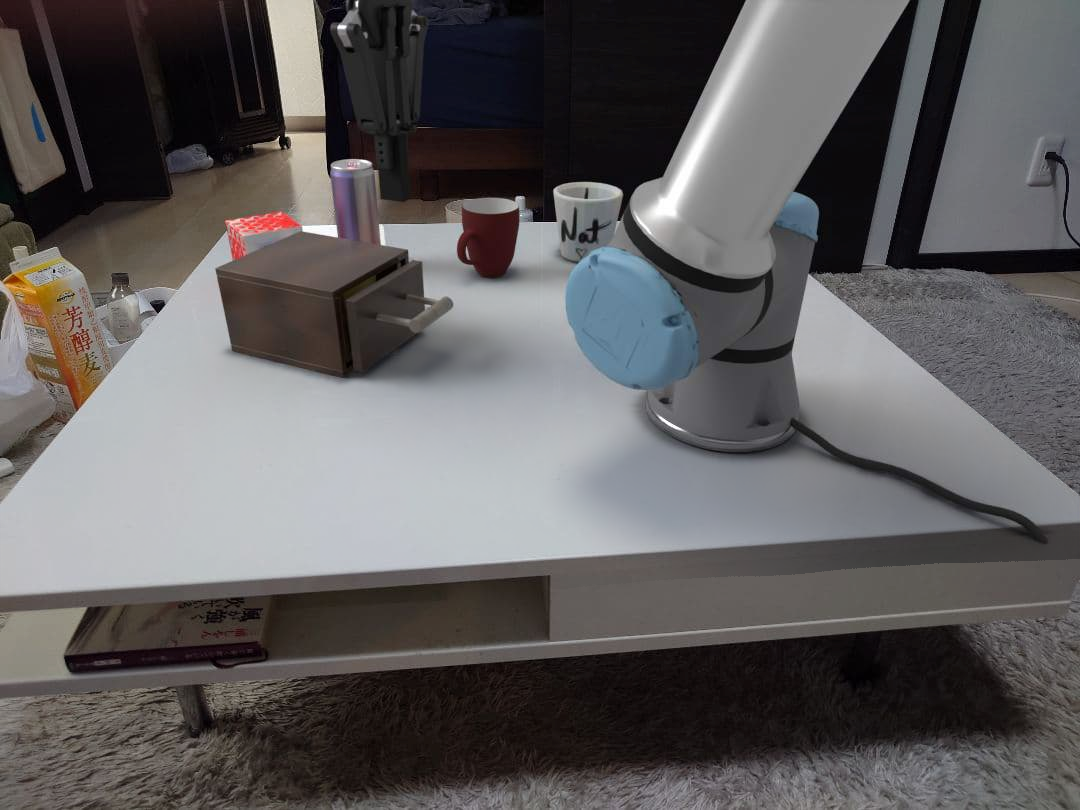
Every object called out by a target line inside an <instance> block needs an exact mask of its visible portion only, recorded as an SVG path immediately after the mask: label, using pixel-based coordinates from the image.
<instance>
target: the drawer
mask: <svg viewBox="0 0 1080 810" xmlns="http://www.w3.org/2000/svg"><path fill="white" fill-rule="evenodd" d="M424 285H425V284H424V271H423V261H421V260H418V259H417V260H416V259H413V260H411V261H409V263H407V264H406V265H404V266H402V267H401V262H400V261H399V262H397V263H395V264H393V265H392V266H390V267H388V268H387V269H385V270H383V271H381V272H380V273H378V274H376V282H375V283H373V284H372V285H370V286H368V287H366V288H365V289H363V290H361V291H360V292H358V293H356V294H355V295H353V296H351V297H349V298H348V299H346V309H347V317H348V326H349V333H348V330H347V321H346V313H345V305H344V296H343V295H342V294H341V295H340V296H338V302H339V310H340V318H341V326H342V334H343V342H344V350H345V358H346V363H347V362H349V361H350V360H352V359H353V368H354V371H355V372H358V373H364V372H365V371H367V370H368V369H369V368H371V367H372V366H374V365H375V364H376V363H378V362H379V361H380V360H382V359H383V358H385V357H386V356H387V355H389V354H390V353H392V352H393V351H394V350H396V349H397V348H398V347H399V346H401V345H402V344H403V343H405V342H406V341H408V340H409V339H410V338H412V337H413V336H415V335H416V334H420V333H421V332H423V331H424V330H425V329H426V328H428V327H429V326H430V325H432V324H433V323H435V322H437V320H439V319H440V318H442V317H443V316H444V315H446V314H447V313H448V312H450V311H451V310H452V309H453V308H454V302H453V300H452V298H450V297H449V296H443V297H442V298H440V299H434V298H430V297H425V289H424ZM426 305H427V306H429V307H427V308H426Z"/></svg>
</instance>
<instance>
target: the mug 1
mask: <svg viewBox="0 0 1080 810" xmlns="http://www.w3.org/2000/svg"><path fill="white" fill-rule="evenodd" d="M461 225H462V231H463V232H462V233H460V235H459V237H458V240H457V244H456V255H457V259H458V260H459V261H460V263H462V264H464V265H467V266H472V267H473V269H474V270H475V271H476V273H477V274H478V276H480V277H482V278H485V279H497V278H501V277H504V275H505V274H506V273H507V271H508V269H509V268H510V266H511V264H512V262H513V260H514V257H515V253H516V246H517V241H518V234H519V231H520V229H519V228H520V204H519V203H518V202H516V201H514V200H512V199H508V198H501V197H478V198H473V199H470V200H466V201H464V202H463V203H462V204H461ZM467 254H468V255H467ZM468 258H469V259H468Z"/></svg>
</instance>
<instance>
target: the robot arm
mask: <svg viewBox="0 0 1080 810" xmlns="http://www.w3.org/2000/svg"><path fill="white" fill-rule="evenodd" d="M910 1H911V0H745V1H744V4H743V5H742V7H741V10H740V12H739V14H738V16H737V19H736V21H735V23H734V25H733V26H732V29H731V31H730V34H729V35H728V38H727V40H726V42H725V44H724V46H723V49H722V50H721V52H720V55H719V57H718V59H717V61H716V62H715V65H714V67H713V70H712V72H711V74H710V76H709V78H708V80H707V83H706V85H705V86H704V89H703V91H702V93H701V95H700V97H699V99H698V101H697V104H696V105H695V108H694V110H693V112H692V115H691V116H690V118H689V121H688V123H687V125H686V127H685V129H684V131H683V133H682V135H681V138H680V139H679V141H678V144H677V146H676V148H675V150H674V152H673V155H672V157H671V159H670V161H669V163H668V165H667V166H666V169H665V172H664V174H663V176H662V177H659V178H656V179H652V180H650V181H646V182H643V183H642V184H640V185H639V186H637V187H636V188H635V190H634V192H633V193H632V195H631V197H630V199H629V201H628V202H627V204H626V207H625V208H624V209H625V210H624V212H623V214H622V216H621V218H620V221H619V223H618V225H617V226H616V228H615V233H614V236H613V238H612V240H611V242H610V243H609V244H608V245H607V247H602V248H599V249H596V250H593V251H591V252H590V253H589V255H588V256H587V257H585V258H584V259H582V260H581V261H580V262H577V264H576V265H575V266H574V268H573V269H572V271H571V273H570V275H569V277H568V280H567V283H566V289H565V296H564V299H565V300H564V301H565V302H564V304H565V312H566V317H567V321H568V325H569V326H570V327H571V329H572V331H573V333H574V340H575V342H576V344H577V346H578V347H579V349H580V350H581V352H582V353H583V355H584V356H585V358H586V359H587V360H588V362H590V364H591V365H592V366H594V368H595V369H596V370H597V371H598V372H600V373H601V374H602V375H603V376H605V377H606V378H607V379H609V380H610V381H612V382H614V383H616V384H618V385H620V386H622V387H625V388H627V389H631V390H636V391H640V390H641V391H646V397H645V410H646V414H647V416H648V417H649V420H651V421H652V423H653V424H654V425H655V426H656V427H657V428H658V429H660V430H661V431H662V432H664V433H665V434H667V435H669V436H670V437H672V438H674V439H676V440H679V441H680V442H683V443H685V444H689V445H691V446H695V447H698V448H702V449H707V450H712V451H717V452H726V453H746V452H747V453H749V452H758V451H763V450H767V449H771V448H774V447H777V446H778V445H780V444H783V443H784V442H786V441H787V440H789V439H790V438H791V437H792V436H793V434H794V433H795V432H796V431H797V432H799V433H800V434H802V435H804V436H805V437H806V438H808V439H809V440H811V441H812V442H814V443H815V444H817V445H818V446H819V447H820V448H821V449H823V450H824V451H825V452H827V453H829V454H830V455H832V456H833V457H835V458H837V459H839V460H841V461H843V462H846V463H849V464H852V465H855V466H858V467H862V468H866V469H871V470H875V471H879V472H884V473H887V474H890V475H894V476H897V477H900V478H902V479H905V480H907V481H909V482H912V483H914V484H916V485H918V486H920V487H921V488H924V489H926V490H928V491H929V492H931V493H933V494H935V495H937V496H939V497H942V498H943V499H945V500H947V501H949V502H951V503H953V504H955V505H958V506H960V507H962V508H965V509H967V510H971V511H973V512H978V513H982V514H986V515H991V516H996V517H1000V518H1003V519H1005V520H1006V519H1007V520H1010V521H1012V522H1014V523H1017V525H1019V526H1021V527H1022V528H1024V529H1025V530H1026V531H1028V533H1029V534H1030V535H1031V536H1032V537H1033V539H1034V540H1035V541H1036V542H1038V543H1039V544H1043V545H1048V544H1049V541H1048V539H1047V537H1046V535H1045V534H1044V533H1043V531H1042V530H1041V529H1040V527H1039V526H1038V525H1036V523H1035V522H1034V521H1033V520H1031V519H1030V518H1028V517H1027V516H1025V515H1023V514H1022V513H1019V512H1017V511H1015V510H1012V509H1008V508H1006V507H1001V506H996V505H993V504H987V503H983V502H980V501H976V500H973V499H969V498H967V497H965V496H962V495H960V494H957V493H956V492H953V491H951V490H949V489H947V488H945V487H943V486H941V485H940V484H937V483H936V482H933V481H932V480H929V479H928V478H926V477H923V476H921V475H920V474H918V473H915V472H914V471H913V472H912V471H910V470H908V469H905V468H903V467H899V466H896V465H893V464H890V463H886V462H882V461H877V460H872V459H868V458H865V457H860V456H857V455H854V454H851V453H849V452H846V451H844V450H842V449H840V448H838V447H837V446H835V445H834V444H832V443H830V442H829V441H828V440H827V439H825V438H824V437H823V436H822V435H820V434H819V433H817V432H816V431H815V430H813V429H811V428H810V427H808V426H807V425H805V424H803V423H802V422H800V421H799V417H800V399H799V393H798V385H797V378H796V371H795V367H794V366H795V365H794V360H793V349H794V345H795V344H794V343H795V340H796V339H795V338H796V334H797V330H798V326H799V321H800V315H801V311H802V306H803V301H804V296H805V292H806V287H807V283H808V278H809V273H810V269H811V263H812V259H813V254H814V251H815V250H814V249H815V245H816V243H817V242H818V239H819V236H818V235H817V233H818V232H817V231H818V225H819V218H820V217H819V216H820V211H819V207H818V205H817V203H816V202H815V201H814V200H813V199H812V198H810V197H808V196H806V195H804V194H802V193H799V192H796V191H795V189H796V188H797V186H798V184H799V183H800V181H801V179H802V178H803V176H804V174H805V173H806V171H807V170H808V169H809V167H810V165H811V163H812V162H813V160H814V158H815V157H816V155H817V153H818V152H819V150H820V148H821V147H822V145H823V143H824V142H825V140H826V139H827V137H828V135H830V132H831V131H832V128H833V127H834V126H835V124H836V122H837V121H838V119H839V117H840V115H841V114H842V112H843V111H844V109H845V107H846V106H847V104H848V103H849V101H850V99H851V97H852V96H853V94H854V92H855V91H856V89H857V87H859V84H860V83H861V81H862V80H863V78H864V76H865V74H866V73H867V72H868V70H869V68H870V67H871V64H872V63H873V62H874V60H875V59H876V57H877V55H878V53H879V51H880V50H881V48H882V46H883V45H884V44H885V42H886V40H887V39H888V37H889V34H890V33H891V32H892V30H893V28H894V27H895V25H896V23H897V22H898V20H899V19H900V17H901V15H902V14H903V12H904V11H905V9H906V7H907V6H908V4H909V2H910ZM345 9H346V13H347V14H346V15H345V17H344V18H343V19H342V21H341V22H332V23H331V24H330V27H329V30H330V35H331V37H332V39H333V42H334V43H335V44H336V47H337V48H338V50H339V54H340V59H341V63H342V66H343V72H344V74H345V79H346V83H347V86H348V91H349V95H350V100H351V104H352V109H353V112H354V117H355V120H356V125H357V127H358V130H360V131H363V133H365V134H370V135H372V136H373V140H374V153H375V162H376V167H377V171H378V185H379V195H380V200H385V201H393V202H397V203H398V202H399V203H405V202H407V201H410V200H411V199H412V196H411V195H412V193H411V182H410V181H411V180H410V164H409V155H410V154H409V140H408V132H410V133H416V131H417V130H418V124H413V122H414V123H415V122H419V120H420V117H421V100H422V84H423V83H422V82H423V68H424V67H423V66H424V65H423V64H424V51H425V49H424V47H425V40H426V36H427V32H428V28H429V19H428V16H426V15H418V14H417V12H415V10H414V0H345Z"/></svg>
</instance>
